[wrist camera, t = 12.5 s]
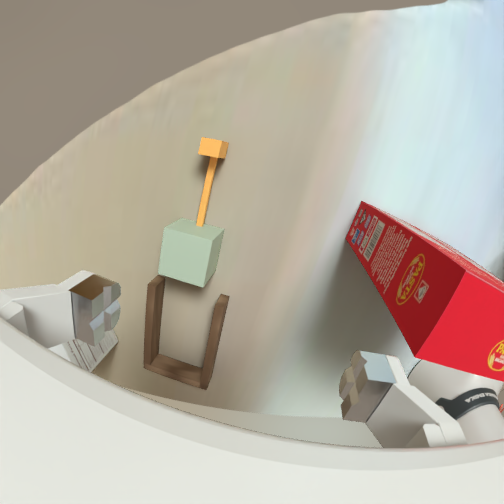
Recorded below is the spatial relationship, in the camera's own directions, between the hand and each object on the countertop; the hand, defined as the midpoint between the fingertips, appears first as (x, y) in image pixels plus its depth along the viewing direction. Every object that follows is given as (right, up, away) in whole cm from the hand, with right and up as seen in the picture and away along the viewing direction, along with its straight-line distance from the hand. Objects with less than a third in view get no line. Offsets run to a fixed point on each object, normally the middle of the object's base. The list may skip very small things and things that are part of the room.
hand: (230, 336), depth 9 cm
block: (-5, +9, +29) cm, 31 cm away
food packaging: (+20, +4, +27) cm, 34 cm away
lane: (-10, -9, +35) cm, 38 cm away
